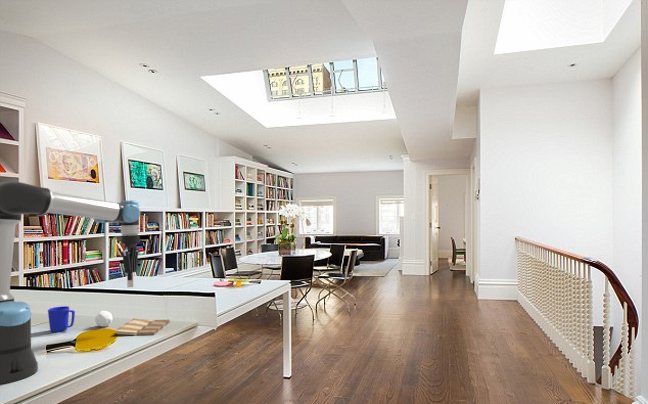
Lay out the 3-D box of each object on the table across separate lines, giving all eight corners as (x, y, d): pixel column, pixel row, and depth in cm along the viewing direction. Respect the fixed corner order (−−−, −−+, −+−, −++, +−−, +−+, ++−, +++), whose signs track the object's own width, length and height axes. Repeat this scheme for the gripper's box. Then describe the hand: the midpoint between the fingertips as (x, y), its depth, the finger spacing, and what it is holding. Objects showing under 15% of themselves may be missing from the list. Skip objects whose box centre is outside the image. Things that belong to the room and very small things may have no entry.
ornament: (93, 329, 194) (89, 313, 198) (105, 330, 201) (101, 315, 204) (105, 321, 194) (102, 305, 197) (117, 323, 200) (113, 308, 204)
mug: (67, 333, 188) (66, 311, 188) (43, 332, 191) (43, 310, 191) (81, 328, 196) (80, 306, 196) (58, 327, 199) (58, 306, 199)
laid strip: (154, 334, 184) (154, 331, 184) (136, 335, 183) (136, 332, 183) (170, 322, 204) (169, 319, 204) (154, 322, 203) (154, 319, 203)
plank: (135, 335, 183) (135, 332, 183) (114, 333, 183) (114, 330, 183) (153, 322, 203) (153, 319, 203) (133, 321, 203) (134, 318, 203)
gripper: (132, 235, 187) (133, 289, 187) (144, 233, 200) (145, 284, 200) (115, 235, 187) (116, 290, 187) (128, 233, 200) (128, 284, 200)
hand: (131, 287), depth 193 cm, fingers closed
